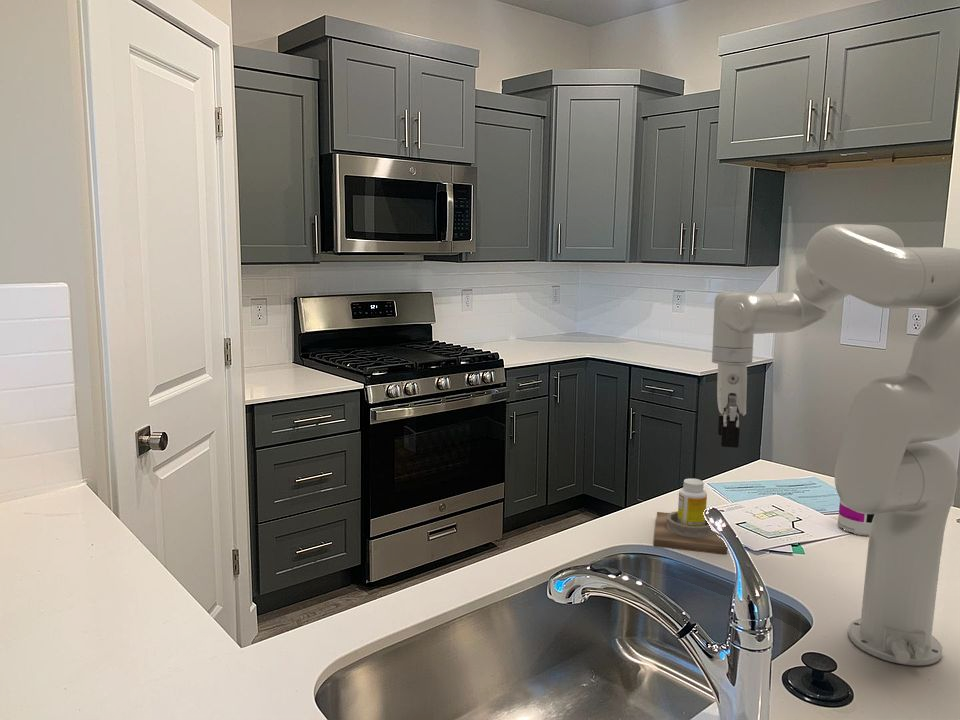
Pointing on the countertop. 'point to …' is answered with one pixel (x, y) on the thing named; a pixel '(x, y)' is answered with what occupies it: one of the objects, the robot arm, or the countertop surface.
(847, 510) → the supplement can
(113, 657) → the countertop surface
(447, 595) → the countertop surface
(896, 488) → the robot arm
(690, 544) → the collar board
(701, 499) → the supplement bottle
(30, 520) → the countertop surface
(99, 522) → the countertop surface
